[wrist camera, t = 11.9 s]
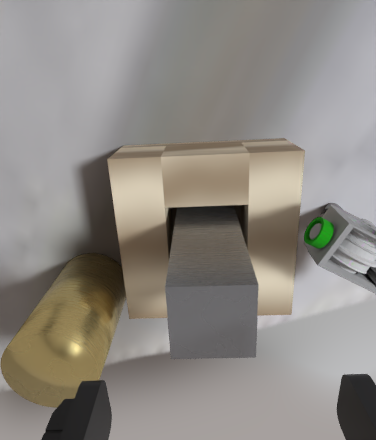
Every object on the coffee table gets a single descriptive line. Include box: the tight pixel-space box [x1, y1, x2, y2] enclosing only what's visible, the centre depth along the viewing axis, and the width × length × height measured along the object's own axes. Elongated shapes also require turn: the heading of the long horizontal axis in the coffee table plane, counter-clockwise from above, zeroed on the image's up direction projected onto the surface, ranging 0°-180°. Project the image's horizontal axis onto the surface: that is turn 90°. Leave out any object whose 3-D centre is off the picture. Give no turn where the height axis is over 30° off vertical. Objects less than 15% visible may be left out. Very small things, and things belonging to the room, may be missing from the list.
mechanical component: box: [304, 203, 376, 294], centre depth 22 cm, size 3×10×10 cm, turn 63°
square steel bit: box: [165, 205, 259, 359], centre depth 21 cm, size 4×4×12 cm
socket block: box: [107, 138, 305, 319], centre depth 25 cm, size 12×12×5 cm
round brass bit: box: [1, 253, 126, 407], centre depth 25 cm, size 6×6×10 cm
